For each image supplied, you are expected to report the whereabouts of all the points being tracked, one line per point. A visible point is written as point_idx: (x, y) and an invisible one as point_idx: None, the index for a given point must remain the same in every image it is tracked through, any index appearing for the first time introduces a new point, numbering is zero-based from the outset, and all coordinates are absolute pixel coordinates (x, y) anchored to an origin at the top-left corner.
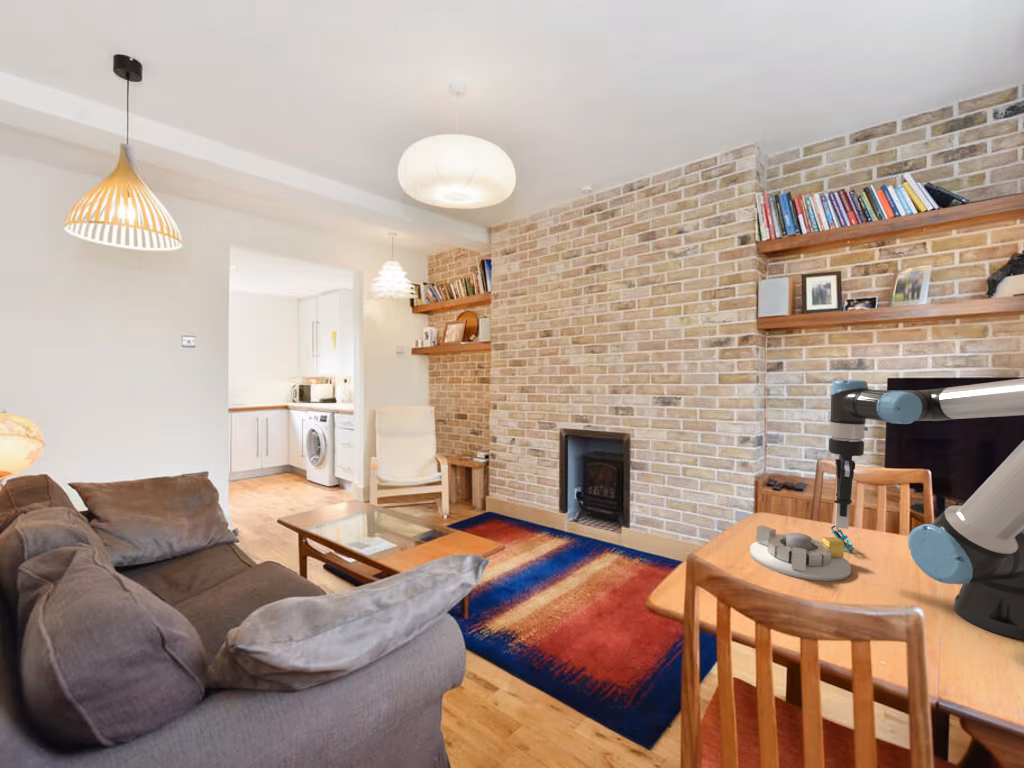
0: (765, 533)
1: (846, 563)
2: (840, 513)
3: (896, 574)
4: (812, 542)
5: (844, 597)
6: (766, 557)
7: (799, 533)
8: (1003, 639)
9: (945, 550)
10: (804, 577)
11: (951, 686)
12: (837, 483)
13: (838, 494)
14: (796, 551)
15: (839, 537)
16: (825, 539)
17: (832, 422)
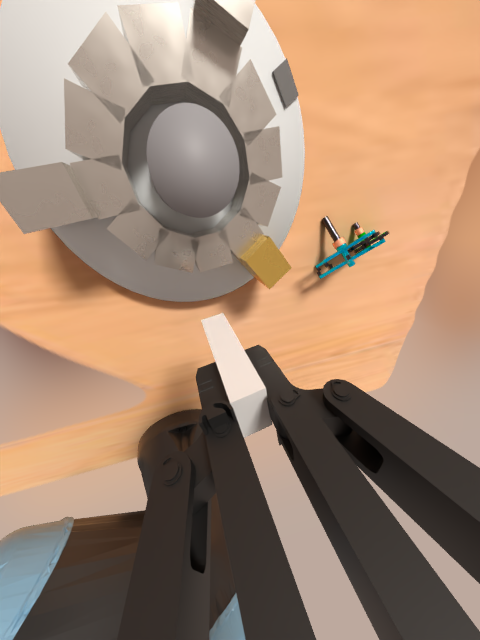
0: None
1: (225, 287)
2: (198, 381)
3: (257, 341)
4: (243, 210)
5: (44, 321)
6: (51, 49)
7: (235, 162)
8: (129, 453)
9: None
10: None
11: None
12: (434, 487)
13: (230, 491)
14: (12, 190)
15: (355, 247)
16: (258, 247)
17: None
